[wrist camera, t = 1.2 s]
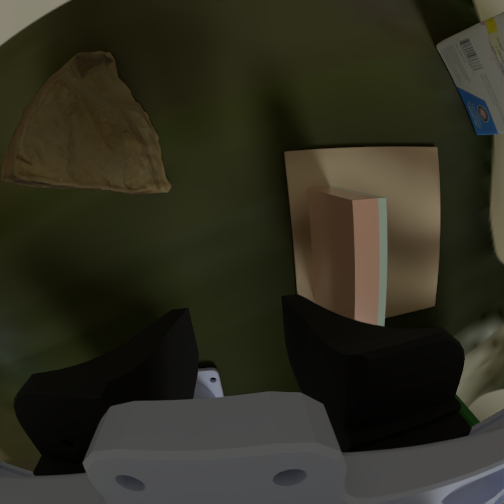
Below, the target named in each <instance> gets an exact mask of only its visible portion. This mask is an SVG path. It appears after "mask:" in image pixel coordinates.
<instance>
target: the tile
mask: <svg viewBox="0 0 504 504" xmlns="http://www.w3.org/2000/svg"><path fill="white" fill-rule="evenodd" d="M307 194H308V206H309V218H310V231H311V245H312V260H313V277H314V297H315V303H316V304H318V305H320V306H322V307H324V308H326V309H328V310H330V311H332V312H334V313H337V314H339V315H342V316H344V317H347V318H350V319H353V320H357V321H360V322H364V323H368V324H373V325H379V326H384V324H385V309H386V290H387V205H386V197H381V196H377V195H372V194H367V193H363V192H358V191H353V190H348V189H343V188H338V187H332V186H325V187H314V188H307Z"/></svg>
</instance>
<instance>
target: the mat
mask: <svg viewBox="0 0 504 504" xmlns="http://www.w3.org/2000/svg"><path fill="white" fill-rule="evenodd" d="M284 157H285V166H286V175H287V184H288V194H289V204H290V215H291V226H292V237H293V249H294V261H295V274H296V288H297V294H299V295H301V296H303V297H305V298H307V299H309V300H310V301H312V302H314V303H315V297H314V277H313V260H312V245H311V231H310V218H309V206H308V194H307V188H314V187H325V186H332V187H338V188H343V189H348V190H353V191H358V192H363V193H367V194H372V195H377V196H381V197H386V205H387V290H386V309H385V318H387V317H392V316H396V315H400V314H405V313H409V312H413V311H417V310H421V309H425V308H429V307H433V306H435V299H436V290H437V279H438V266H439V248H440V180H439V163H438V150H437V147H351V148H329V149H312V150H298V151H286V152H284Z"/></svg>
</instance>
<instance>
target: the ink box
mask: <svg viewBox="0 0 504 504" xmlns="http://www.w3.org/2000/svg"><path fill="white" fill-rule="evenodd" d="M436 48H437V50H438V52H439V53H440V55H441V57H442V59H443V61H444V63H445V64H446V66H447V68H448V70H449V72H450V74H451V76H452V78H453V80H454V82H455V85H456V87H457V89H458V91H459V93H460V95H461V97H462V100H463V102H464V104H465V107H466V109H467V111H468V114H469V116H470V119H471V121H472V124H473V126H474V129H475V132H476V134H477V135H489V134H504V12H503V13H501V14H498V15H496V16H494V17H491V18H489V19H487V20H485V21H482V22H480V23H478V24H476V25H474V26H472V27H470V28H468V29H466V30H463V31H461V32H459V33H457V34H455V35H453V36H451V37H449V38H447V39H445V40H443V41H441V42H440V43H438V44H437V45H436Z"/></svg>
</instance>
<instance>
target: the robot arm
mask: <svg viewBox="0 0 504 504" xmlns="http://www.w3.org/2000/svg"><path fill="white" fill-rule="evenodd" d="M282 307H283V319H284V331H285V343H286V347H287V352H288V356H289V360H290V364H291V366H292V369H293V371H294V374H295V376H296V379H297V381H298V384H299V386H300V389H301V391H302V393H298V392H270V391H268V392H261V393H253V394H245V395H236V396H226V397H224V394H223V390H222V386H221V381H220V377H219V372H218V370H217V369H216V368H201V369H198V356H199V353H198V349H197V344H196V340H195V336H194V331H193V327H192V322H191V317H190V313H189V308H183V309H173V310H171V311H169V312H168V313H167V314H165V315H164V316H163V317H161V318H160V319H159V320H157V321H156V322H155V323H154V324H152V325H151V326H150V327H148V328H147V329H146V330H144V331H143V332H142V333H140V334H139V335H137V336H136V337H134V338H133V339H132V340H130V341H128V342H127V343H125V344H124V345H122V346H120V347H118V348H116V349H114V350H113V351H111V352H109V353H106V354H104V355H102V356H99V357H97V358H95V359H92V360H90V361H87V362H84V363H81V364H78V365H75V366H71V367H68V368H64V369H59V370H54V371H49V372H43V373H37V374H32V375H31V377H30V378H29V379H28V380H27V382H26V383H25V384H24V385H23V387H22V388H21V389H20V391H19V392H18V393H17V395H16V396H15V398H14V409H15V413H16V416H17V418H18V420H19V422H20V424H21V426H22V427H23V429H24V430H25V432H26V433H27V435H28V436H29V438H30V439H31V441H32V442H33V444H34V445H35V446H36V448H37V449H38V451H39V452H40V453H41V455H42V456H41V458H40V460H39V462H38V464H37V466H36V468H35V470H34V472H31V471H28V470H25V469H22V468H19V467H15V466H12V465H10V464H7V463H4V462H1V461H0V504H502V503H504V409H502V410H501V411H499V412H497V413H496V414H494V415H492V416H491V417H489V418H487V419H485V420H483V421H482V422H480V423H478V424H476V425H474V426H472V427H471V426H470V425H469V424H468V423H467V421H466V420H465V419H464V418H463V416H462V415H461V414H460V413H459V412H458V411H459V410H460V408H461V403H460V402H459V401H458V400H457V399H456V398H455V394H456V391H457V388H458V385H459V382H460V378H461V375H462V371H463V367H464V360H465V356H464V349H463V348H462V346H461V344H460V342H459V341H457V340H456V339H455V338H454V337H453V336H452V335H451V334H449V333H448V332H447V331H446V330H445V329H444V328H442V327H435V328H416V329H415V328H394V327H385V326H379V325H373V324H368V323H364V322H360V321H357V320H353V319H350V318H347V317H344V316H342V315H339V314H337V313H334V312H332V311H330V310H328V309H326V308H324V307H322V306H320V305H318V304H316V303H314V302H312V301H310V300H309V299H307V298H305V297H303V296H301V295H299V294H294V295H287V296H282ZM212 377H213V378H216V379H214V380H212V379H211V378H212Z"/></svg>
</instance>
